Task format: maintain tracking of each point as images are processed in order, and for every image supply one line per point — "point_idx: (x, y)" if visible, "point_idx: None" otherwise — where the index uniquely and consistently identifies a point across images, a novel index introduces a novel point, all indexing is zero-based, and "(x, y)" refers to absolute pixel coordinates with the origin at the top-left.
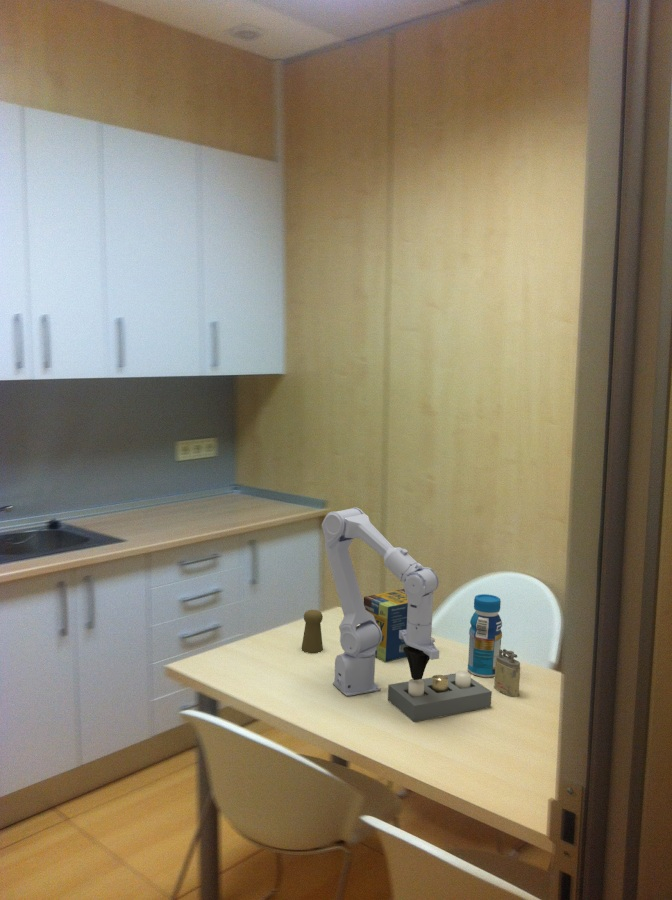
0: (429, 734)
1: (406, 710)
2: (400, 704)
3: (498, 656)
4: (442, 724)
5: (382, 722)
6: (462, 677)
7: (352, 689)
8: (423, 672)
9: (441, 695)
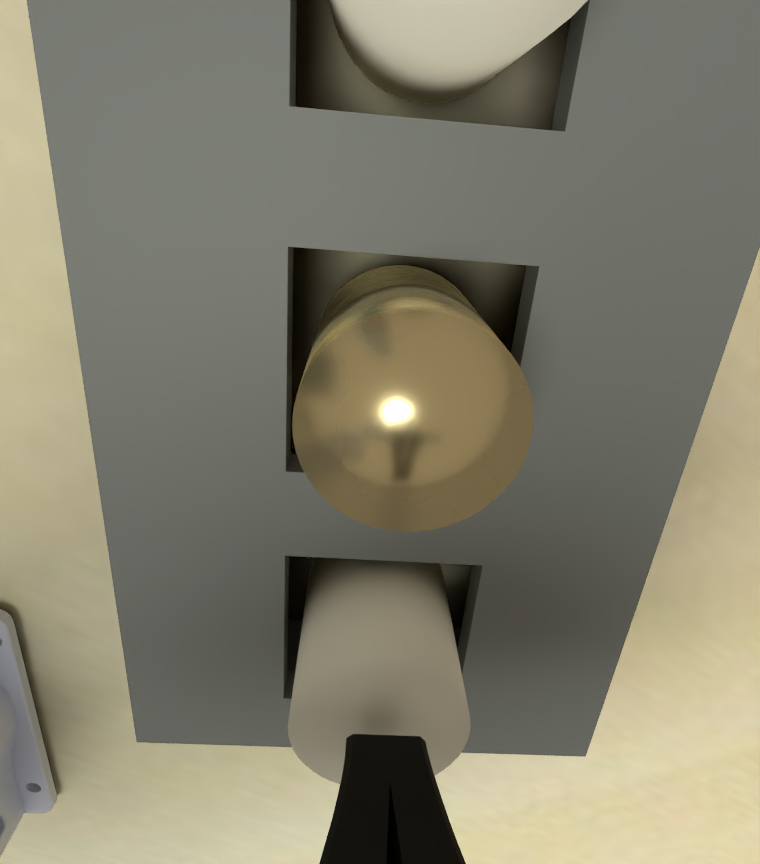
0: (723, 650)
1: None
2: None
3: None
4: (687, 515)
5: (446, 775)
6: (578, 8)
7: (6, 791)
8: (448, 825)
9: (566, 473)
